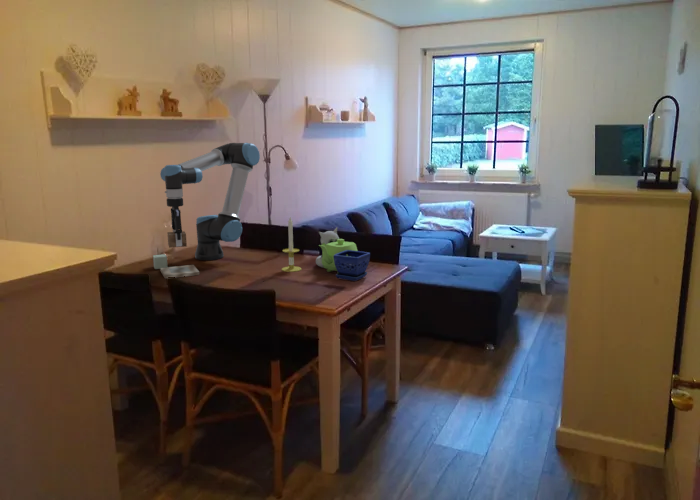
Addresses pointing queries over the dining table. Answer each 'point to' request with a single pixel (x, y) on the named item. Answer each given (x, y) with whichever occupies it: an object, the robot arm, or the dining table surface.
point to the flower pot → (351, 264)
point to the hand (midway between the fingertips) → (177, 244)
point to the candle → (291, 250)
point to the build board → (179, 271)
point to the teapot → (334, 252)
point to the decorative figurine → (327, 238)
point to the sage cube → (160, 261)
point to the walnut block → (173, 239)
